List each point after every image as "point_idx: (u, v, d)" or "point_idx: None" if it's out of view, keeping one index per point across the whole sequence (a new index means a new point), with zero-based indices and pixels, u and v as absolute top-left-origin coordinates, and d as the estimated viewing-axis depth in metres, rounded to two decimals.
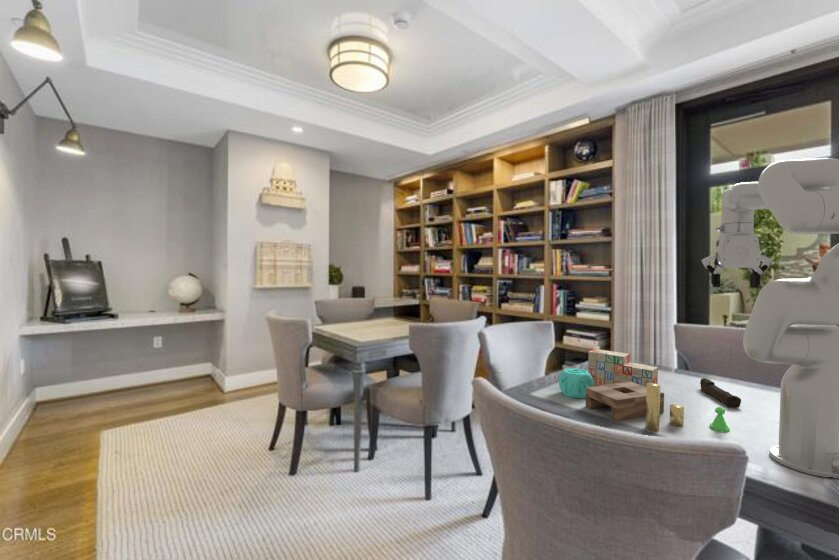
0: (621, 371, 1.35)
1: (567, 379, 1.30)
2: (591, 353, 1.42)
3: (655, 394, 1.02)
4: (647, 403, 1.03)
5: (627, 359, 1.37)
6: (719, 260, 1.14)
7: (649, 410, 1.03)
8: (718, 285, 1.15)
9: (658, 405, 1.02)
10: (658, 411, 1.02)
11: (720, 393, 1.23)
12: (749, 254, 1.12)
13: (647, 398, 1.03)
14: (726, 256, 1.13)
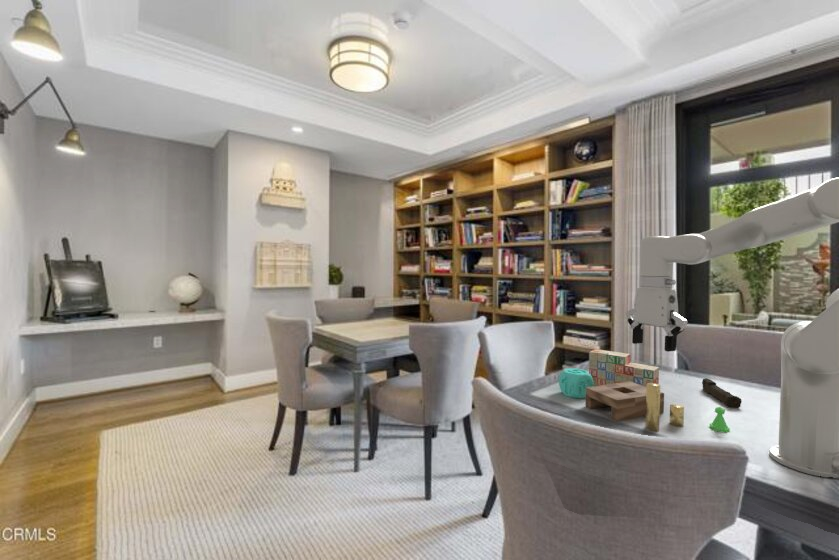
0: (622, 372, 1.35)
1: (567, 379, 1.30)
2: (592, 353, 1.42)
3: (655, 394, 1.02)
4: (647, 403, 1.03)
5: (628, 359, 1.37)
6: None
7: (649, 410, 1.03)
8: None
9: (658, 405, 1.02)
10: (658, 411, 1.02)
11: (721, 393, 1.23)
12: None
13: (647, 398, 1.03)
14: None
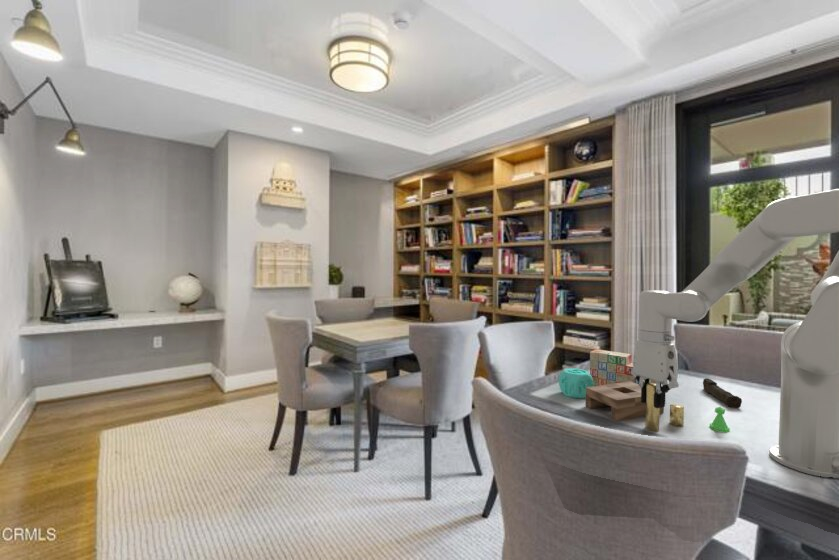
0: (623, 372, 1.34)
1: (567, 379, 1.30)
2: (593, 354, 1.41)
3: None
4: (647, 403, 1.03)
5: (629, 359, 1.36)
6: (676, 374, 0.99)
7: (649, 410, 1.03)
8: None
9: None
10: (658, 411, 1.02)
11: (721, 393, 1.23)
12: None
13: (647, 398, 1.03)
14: None
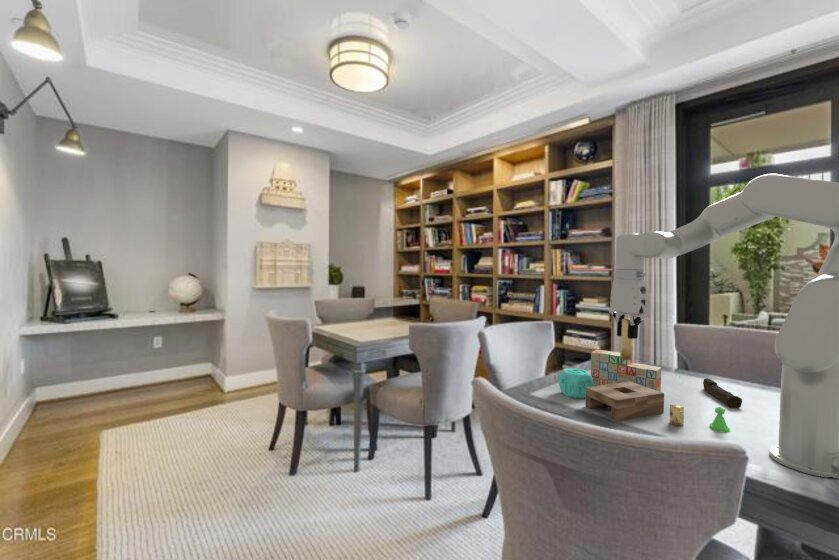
0: (625, 372, 1.34)
1: (567, 379, 1.30)
2: (594, 354, 1.41)
3: None
4: (622, 336, 1.15)
5: None
6: (648, 307, 1.11)
7: (623, 342, 1.14)
8: None
9: None
10: (631, 342, 1.14)
11: (721, 393, 1.23)
12: None
13: (622, 331, 1.15)
14: None
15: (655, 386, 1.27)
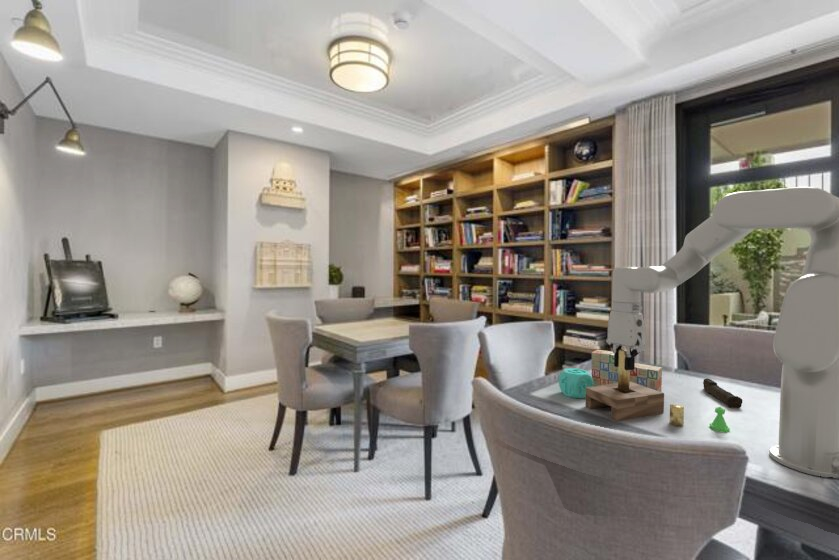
0: None
1: (567, 379, 1.30)
2: (594, 354, 1.41)
3: None
4: (619, 367, 1.17)
5: None
6: (644, 340, 1.12)
7: (620, 373, 1.16)
8: None
9: None
10: (628, 373, 1.16)
11: (722, 393, 1.23)
12: None
13: (619, 362, 1.17)
14: None
15: (656, 386, 1.27)
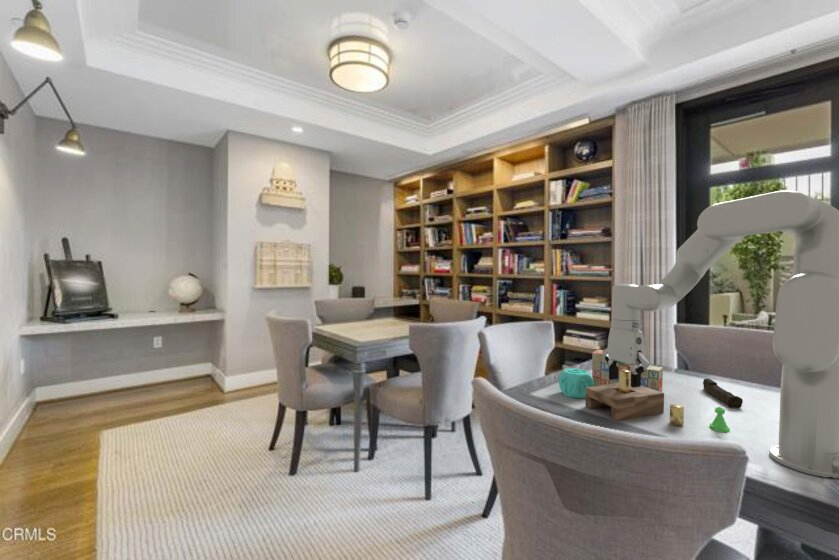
0: None
1: (567, 379, 1.30)
2: (595, 354, 1.41)
3: (626, 379, 1.15)
4: (619, 387, 1.17)
5: None
6: None
7: None
8: None
9: (628, 388, 1.16)
10: None
11: (722, 393, 1.23)
12: None
13: (619, 382, 1.17)
14: None
15: (657, 386, 1.27)
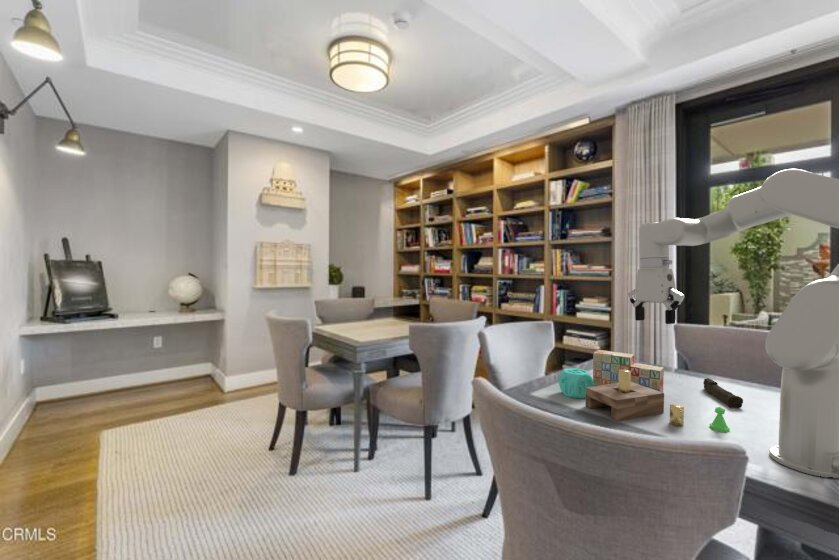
0: None
1: (567, 379, 1.30)
2: (596, 354, 1.40)
3: (626, 379, 1.15)
4: (620, 387, 1.17)
5: (632, 360, 1.36)
6: None
7: None
8: None
9: (629, 389, 1.16)
10: None
11: (722, 393, 1.23)
12: None
13: (619, 382, 1.17)
14: None
15: (658, 386, 1.27)
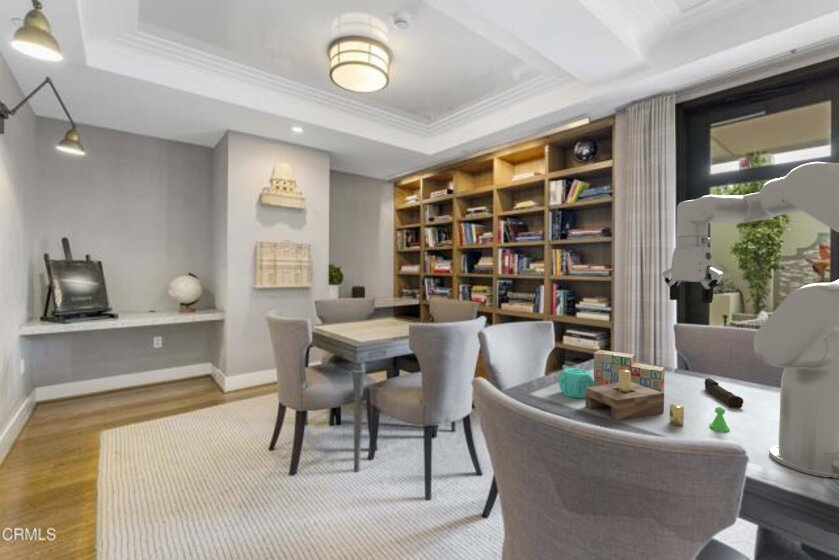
0: None
1: (567, 379, 1.30)
2: (597, 354, 1.40)
3: (626, 379, 1.15)
4: (620, 387, 1.17)
5: (633, 360, 1.36)
6: None
7: None
8: None
9: (629, 389, 1.16)
10: None
11: (723, 393, 1.23)
12: None
13: (619, 382, 1.17)
14: None
15: (660, 386, 1.27)
